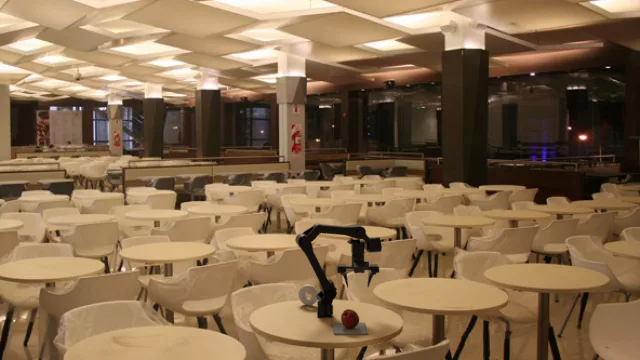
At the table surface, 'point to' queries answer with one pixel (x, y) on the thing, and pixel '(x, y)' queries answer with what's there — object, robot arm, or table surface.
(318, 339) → the table surface
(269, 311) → the table surface
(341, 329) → the mat
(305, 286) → the donut
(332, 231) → the robot arm
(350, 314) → the apple
